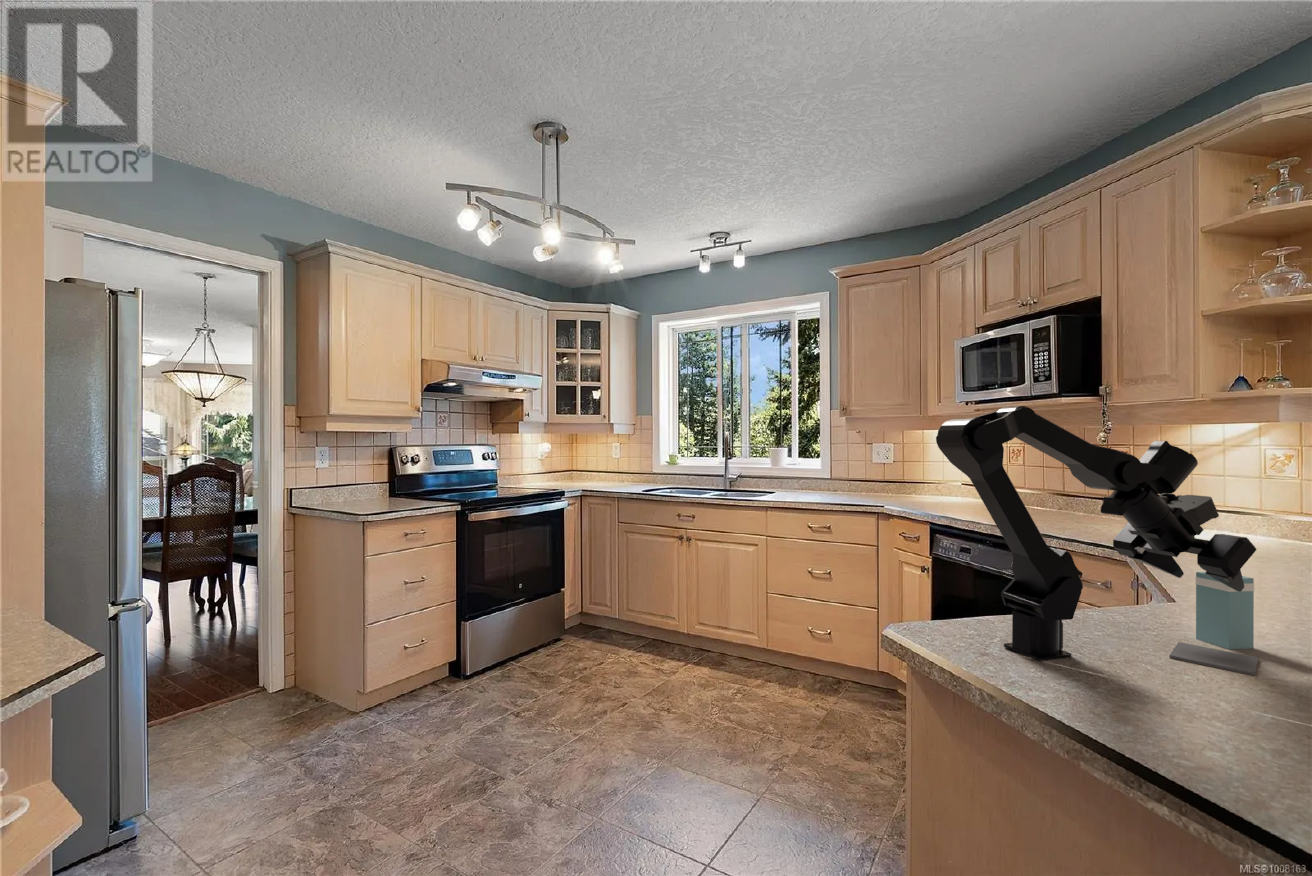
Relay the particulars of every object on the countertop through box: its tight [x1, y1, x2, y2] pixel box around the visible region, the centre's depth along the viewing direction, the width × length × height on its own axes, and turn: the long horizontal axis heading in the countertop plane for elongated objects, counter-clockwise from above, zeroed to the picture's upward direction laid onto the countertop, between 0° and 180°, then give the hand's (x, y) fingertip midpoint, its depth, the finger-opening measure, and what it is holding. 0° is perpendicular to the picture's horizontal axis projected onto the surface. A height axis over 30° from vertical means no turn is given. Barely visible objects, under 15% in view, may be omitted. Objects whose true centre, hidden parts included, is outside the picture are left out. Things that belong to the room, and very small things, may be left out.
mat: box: [1169, 641, 1259, 676], centre depth 89 cm, size 9×9×1 cm
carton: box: [1195, 571, 1255, 650], centre depth 96 cm, size 5×5×12 cm
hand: (1209, 582), depth 96 cm, fingers open, 9 cm apart
